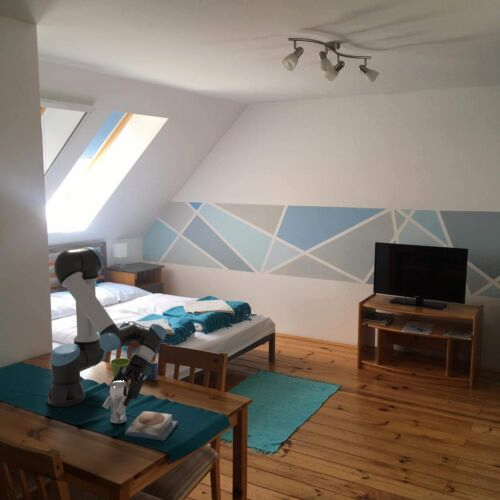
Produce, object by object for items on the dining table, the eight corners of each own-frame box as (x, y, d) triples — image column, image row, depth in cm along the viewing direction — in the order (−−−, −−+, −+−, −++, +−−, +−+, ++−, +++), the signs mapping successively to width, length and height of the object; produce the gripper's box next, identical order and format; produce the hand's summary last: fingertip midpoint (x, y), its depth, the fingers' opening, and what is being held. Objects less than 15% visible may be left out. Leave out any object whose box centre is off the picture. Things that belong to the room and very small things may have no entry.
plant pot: (134, 378, 262) (134, 360, 261) (120, 384, 255) (120, 366, 253) (120, 373, 267) (120, 356, 266) (106, 379, 260) (106, 362, 258)
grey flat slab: (124, 435, 206) (124, 432, 206) (140, 419, 219) (140, 416, 219) (164, 440, 202) (164, 437, 202) (177, 424, 216) (177, 421, 216)
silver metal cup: (122, 425, 212) (122, 388, 210) (106, 422, 213) (106, 386, 211) (130, 417, 219) (130, 381, 217) (114, 415, 220) (114, 379, 218)
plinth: (130, 431, 206) (130, 423, 206) (143, 417, 218) (143, 410, 217) (160, 435, 203) (160, 427, 203) (172, 421, 215) (172, 414, 215)
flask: (158, 379, 261) (158, 358, 260) (155, 381, 258) (155, 360, 257) (140, 377, 264) (140, 356, 262) (138, 379, 261) (138, 358, 259)
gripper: (164, 368, 221) (134, 421, 210) (129, 358, 231) (99, 407, 220) (155, 359, 215) (124, 412, 204) (119, 349, 226) (89, 399, 215)
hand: (111, 410), depth 212 cm, fingers closed on silver metal cup, 7 cm apart
